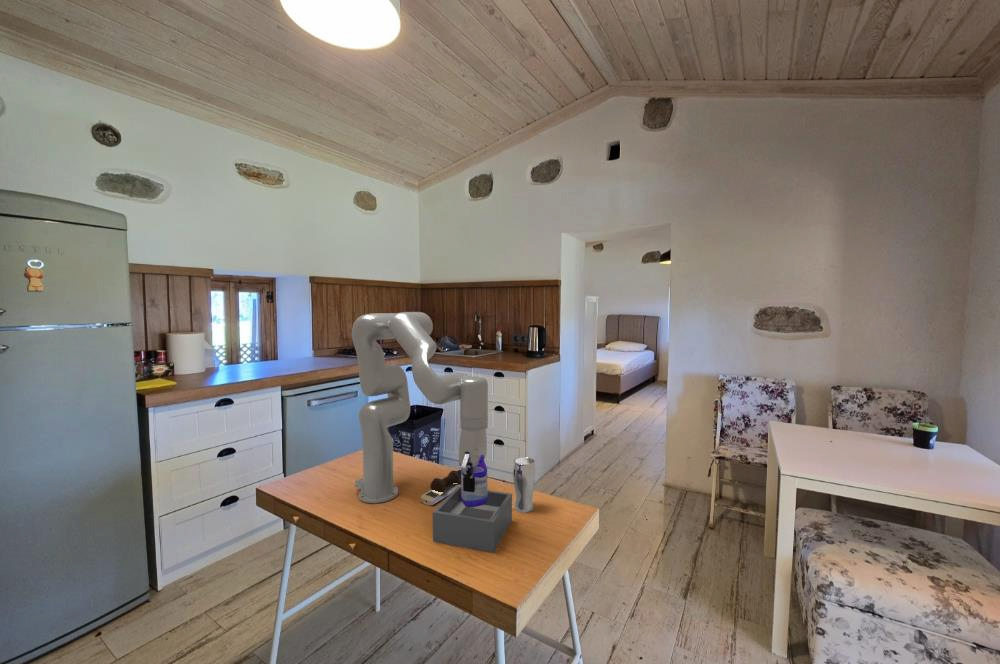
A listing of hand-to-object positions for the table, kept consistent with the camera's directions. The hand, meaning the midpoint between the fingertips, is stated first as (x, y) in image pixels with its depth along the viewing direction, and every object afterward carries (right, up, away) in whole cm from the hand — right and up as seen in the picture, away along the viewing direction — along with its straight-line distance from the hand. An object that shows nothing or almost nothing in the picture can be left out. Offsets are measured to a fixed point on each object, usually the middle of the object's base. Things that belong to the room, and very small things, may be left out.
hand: (474, 485), depth 116 cm
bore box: (0, -13, +1) cm, 13 cm away
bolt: (-10, -12, +29) cm, 33 cm away
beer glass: (+15, -12, +14) cm, 24 cm away
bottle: (0, -5, 0) cm, 5 cm away
